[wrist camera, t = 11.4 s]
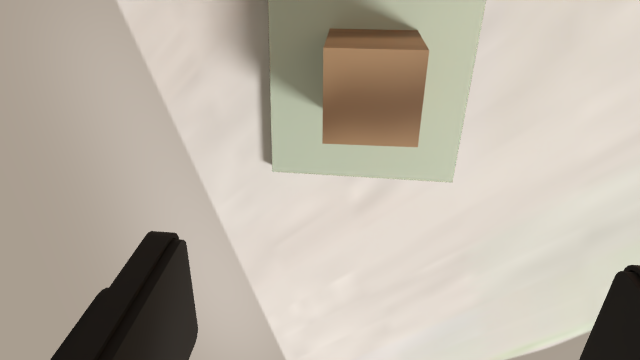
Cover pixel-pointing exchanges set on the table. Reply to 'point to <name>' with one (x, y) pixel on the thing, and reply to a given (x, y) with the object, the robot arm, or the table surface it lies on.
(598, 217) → the table surface
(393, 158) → the sage board
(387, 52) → the walnut cube
